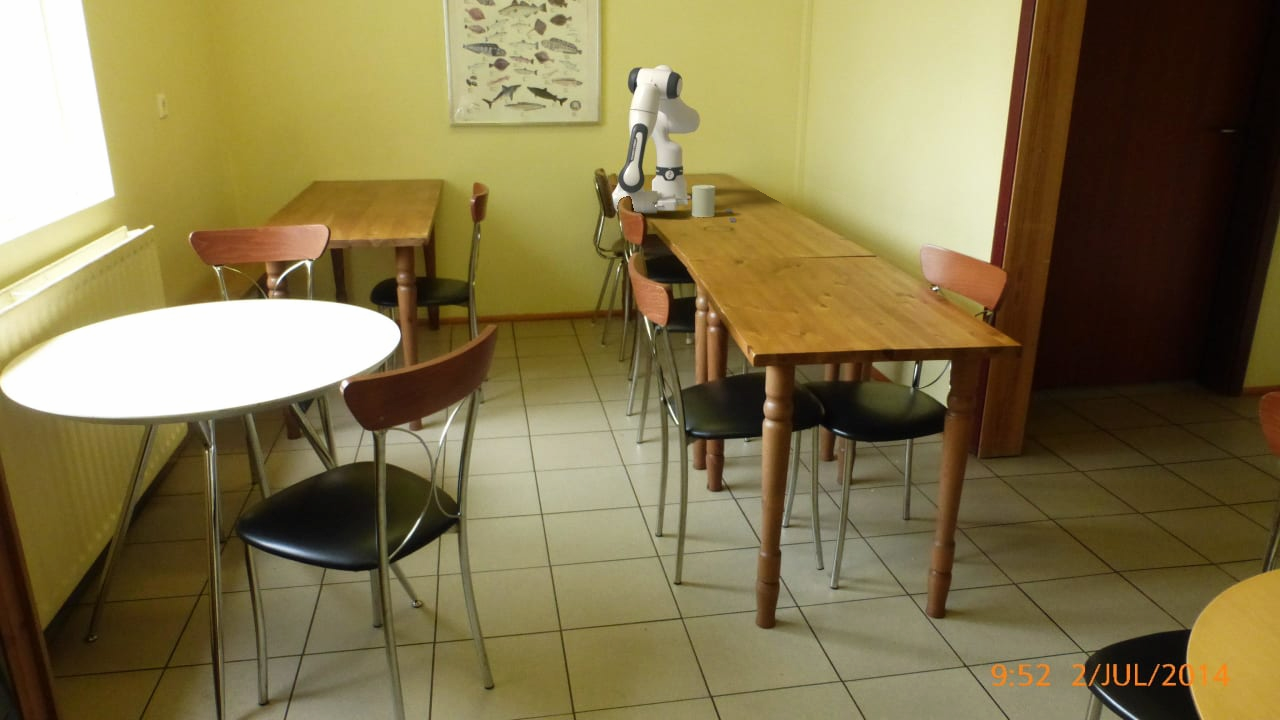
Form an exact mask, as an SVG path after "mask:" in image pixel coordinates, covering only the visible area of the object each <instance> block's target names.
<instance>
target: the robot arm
mask: <svg viewBox="0 0 1280 720" xmlns="http://www.w3.org/2000/svg"><path fill="white" fill-rule="evenodd" d="M627 87H628V90H629V91H630V93H631V94H632V99H631V103H630V106H629V107H630V109H629V114H628V132H629V146H628V148H627V149H628V150H627V155H626V159H625V160H626V161H625V164H624V165H623V167H622V168H621V170H620V172H619V174H618V177H617V178H618V179H617V180H618V183H617V185H616V187H615V188H614V190H613V191H612V193H611V203H612V207H613V209H614V210H615V211H616V212H618V209H617V205H618V202H619V200H620V199H621V198H623V197H626V196H630V197H631V199H632V204H633V208H634V211H636V212H637V213H642V214H658V211H669V212H670V211H671V212H673V211H677V207H678V206H679V207H680V206H687V205H689V200H692V195H689V194H688V193H687V190H688V188H687V179H686V178H685V177H684V166H683V149H682V147H681V145H680V144H679V143H677V142H676V141H674V140H672V139H671V138H670V136H669V134H673V135H674V134H675V135H676V134H678V135H680V134H681V135H683V134H691V133H695V132H696V131H697V130H698V128H699V126H700V123H701V118H700V115H699V112H698V111H697V110H696V109H695V108H693V107H691V106H689V105H687V104H686V103H685V102H684V100H682V97H681V96H680V95H681V92H682V90H683V87H684V86H683V78H682V76H681V74H680V73H678V72H676V71H674V70H673V69H672V67H670V66H669V65H666V64H659V65H658V66H655V67H654V68H652V67H651V68H650V67H649V68H648V67H646V68H645V67H644V68H643V67H642V66H641V67H638V66H637V67H634V68H633V69H631V70H630V72H629V73H628V78H627ZM650 138H651V139H652V141H653V143H654V146H655V151H656V166H655V174H656V176H655V177H654V178H653V179H652V181H651V190H644V189H643V186H644V185H645V180H646V179H645V174H644V171H643V163H644V157H645V151H646V145H647V143H648V141H649V139H650ZM618 213H619V212H618Z"/></svg>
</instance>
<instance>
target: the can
mask: <svg viewBox="0 0 1280 720" xmlns="http://www.w3.org/2000/svg"><path fill="white" fill-rule="evenodd" d="M691 191H692V192H691V215H692V216H691V217H693V216H694V217H693V218H697V217H710V218H714V217H715V216H716V215H715V202H716V201H715V199H716V198H715V197H716V186H714V185H709V184H696V185H692V186H691ZM713 216H714V217H713Z"/></svg>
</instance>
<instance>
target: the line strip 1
mask: <svg viewBox="0 0 1280 720" xmlns="http://www.w3.org/2000/svg"><path fill="white" fill-rule="evenodd" d="M726 210H727V211H726ZM725 211H726V213H727V214H732V213H733V212H732V209H731V208H726V209H725Z"/></svg>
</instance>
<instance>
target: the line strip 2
mask: <svg viewBox="0 0 1280 720" xmlns="http://www.w3.org/2000/svg"><path fill="white" fill-rule="evenodd" d="M729 220H731V221H730V223H737V221H736V219H735V217H729Z"/></svg>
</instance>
